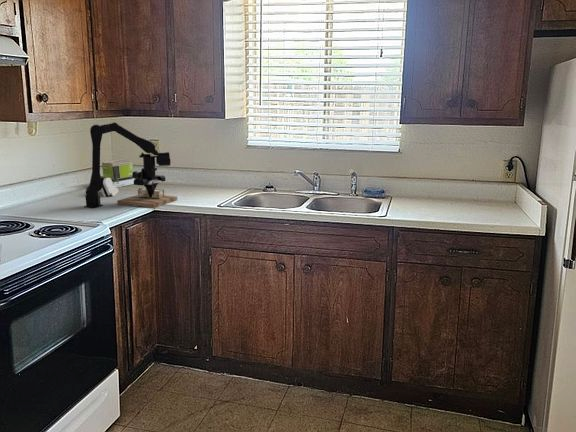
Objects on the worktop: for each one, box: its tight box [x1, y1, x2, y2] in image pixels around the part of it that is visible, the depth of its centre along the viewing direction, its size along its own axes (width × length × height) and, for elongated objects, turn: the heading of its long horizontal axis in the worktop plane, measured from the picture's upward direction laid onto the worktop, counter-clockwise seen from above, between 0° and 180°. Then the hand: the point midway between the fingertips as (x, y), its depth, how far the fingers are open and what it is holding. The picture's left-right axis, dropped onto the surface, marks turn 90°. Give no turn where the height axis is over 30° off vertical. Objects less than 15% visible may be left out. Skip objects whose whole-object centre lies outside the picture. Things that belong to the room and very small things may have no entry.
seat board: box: [116, 188, 178, 209], centre depth 273 cm, size 20×22×6 cm
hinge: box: [100, 178, 120, 198], centre depth 296 cm, size 17×5×10 cm, turn 7°
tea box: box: [101, 158, 135, 188], centre depth 320 cm, size 15×10×15 cm, turn 145°
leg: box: [137, 187, 163, 198], centre depth 276 cm, size 13×3×4 cm, turn 68°
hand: (150, 197), depth 273 cm, fingers closed
